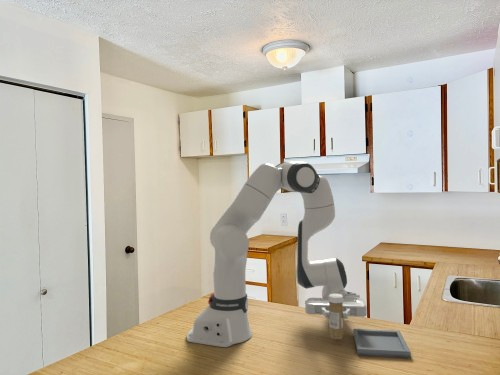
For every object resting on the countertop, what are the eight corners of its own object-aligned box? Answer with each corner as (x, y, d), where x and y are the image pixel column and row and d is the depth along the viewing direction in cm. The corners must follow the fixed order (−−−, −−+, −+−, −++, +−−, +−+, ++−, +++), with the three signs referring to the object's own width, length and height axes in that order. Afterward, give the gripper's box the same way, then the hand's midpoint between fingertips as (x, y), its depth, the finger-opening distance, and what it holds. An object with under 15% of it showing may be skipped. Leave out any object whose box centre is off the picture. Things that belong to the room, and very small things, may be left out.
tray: (357, 355, 111) (357, 348, 111) (353, 334, 126) (353, 328, 126) (410, 358, 108) (410, 351, 108) (399, 336, 123) (399, 330, 123)
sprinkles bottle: (346, 337, 119) (346, 295, 118) (336, 340, 116) (336, 298, 116) (335, 332, 123) (335, 292, 122) (326, 335, 120) (325, 294, 120)
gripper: (305, 291, 134) (303, 304, 120) (363, 293, 130) (368, 307, 116) (305, 308, 134) (303, 323, 120) (363, 311, 130) (369, 327, 117)
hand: (336, 315), depth 118 cm, fingers closed on sprinkles bottle, 4 cm apart
